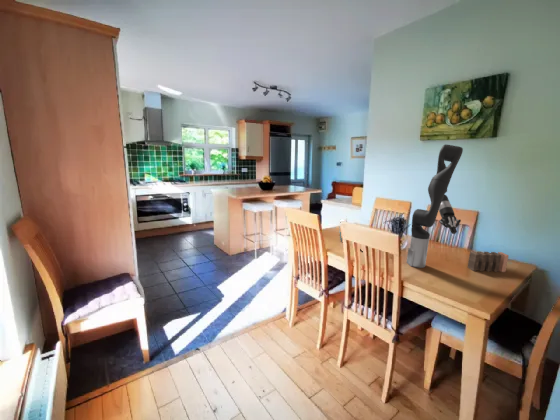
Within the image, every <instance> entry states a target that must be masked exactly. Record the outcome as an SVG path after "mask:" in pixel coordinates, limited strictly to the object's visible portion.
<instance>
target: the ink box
mask: <svg viewBox="0 0 560 420" xmlns="http://www.w3.org/2000/svg"><path fill="white" fill-rule="evenodd" d="M341 221H346V222H348V218H347V216H346V215H345V219H340V220H339V224H340V223H341ZM339 233H340V229H339Z"/></svg>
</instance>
